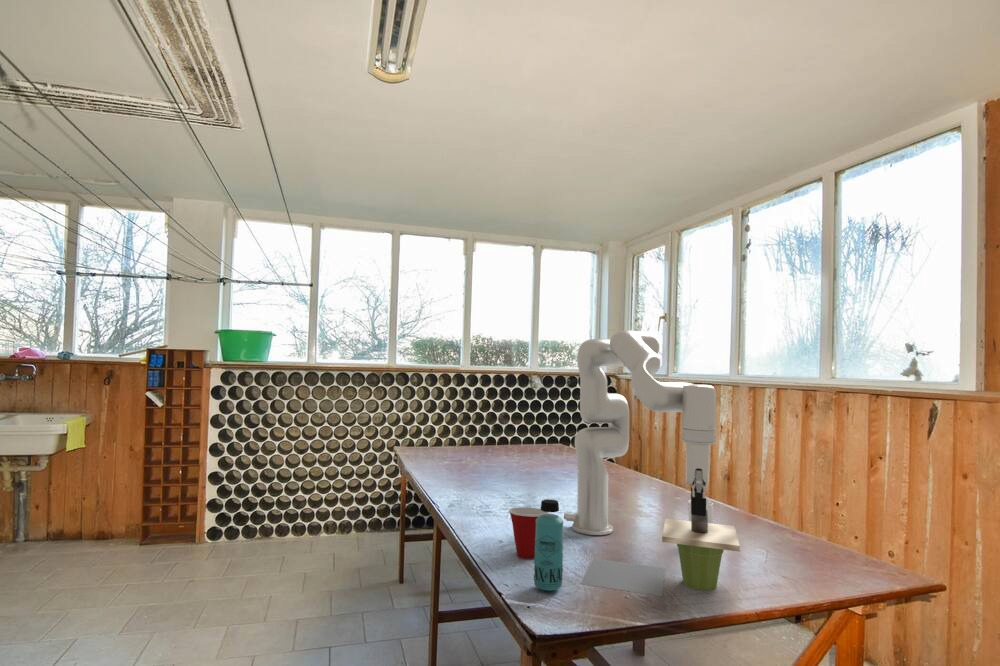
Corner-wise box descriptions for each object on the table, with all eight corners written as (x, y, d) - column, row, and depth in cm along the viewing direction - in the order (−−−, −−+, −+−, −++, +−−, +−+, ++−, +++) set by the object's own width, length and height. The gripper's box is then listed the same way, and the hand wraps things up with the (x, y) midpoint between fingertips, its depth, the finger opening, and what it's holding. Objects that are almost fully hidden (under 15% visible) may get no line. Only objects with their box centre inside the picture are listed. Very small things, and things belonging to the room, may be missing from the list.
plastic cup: (552, 551, 145) (553, 506, 145) (542, 564, 134) (543, 516, 135) (514, 546, 148) (515, 502, 149) (502, 559, 138) (503, 512, 139)
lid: (662, 541, 119) (662, 513, 120) (665, 523, 134) (665, 498, 135) (739, 551, 114) (739, 522, 114) (734, 531, 129) (734, 505, 129)
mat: (580, 585, 121) (580, 583, 121) (593, 560, 138) (593, 558, 138) (662, 598, 115) (662, 596, 115) (665, 570, 132) (665, 568, 132)
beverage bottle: (531, 586, 121) (532, 496, 122) (560, 585, 121) (561, 496, 123) (535, 598, 114) (537, 504, 116) (566, 597, 115) (567, 503, 116)
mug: (711, 549, 148) (710, 506, 149) (686, 545, 152) (686, 502, 153) (716, 540, 157) (716, 499, 158) (693, 536, 161) (692, 496, 161)
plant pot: (723, 601, 115) (722, 548, 116) (667, 588, 121) (667, 538, 122) (731, 583, 125) (731, 534, 126) (680, 572, 131) (679, 526, 132)
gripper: (682, 431, 135) (681, 499, 134) (681, 440, 119) (680, 517, 118) (714, 433, 132) (713, 502, 132) (717, 442, 116) (717, 522, 115)
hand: (698, 509), depth 125 cm, fingers open, 9 cm apart
